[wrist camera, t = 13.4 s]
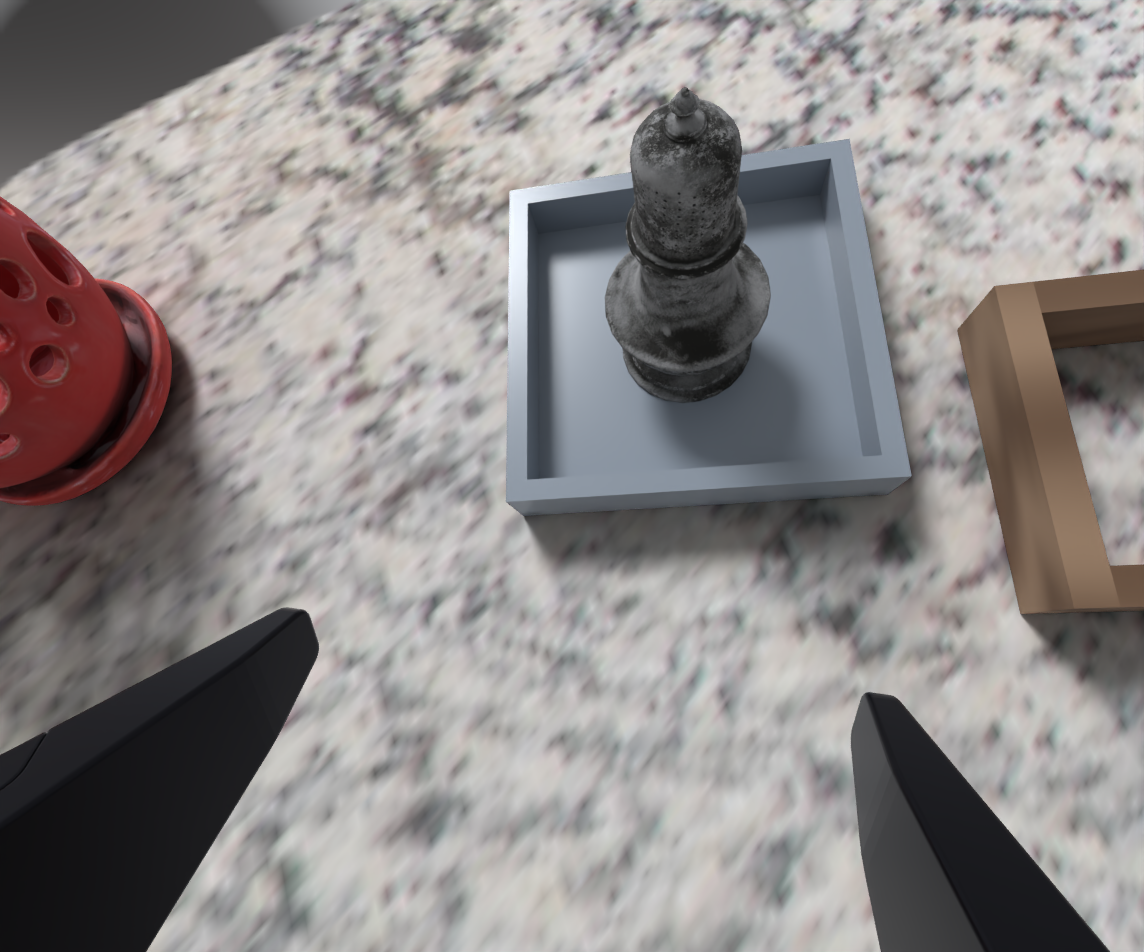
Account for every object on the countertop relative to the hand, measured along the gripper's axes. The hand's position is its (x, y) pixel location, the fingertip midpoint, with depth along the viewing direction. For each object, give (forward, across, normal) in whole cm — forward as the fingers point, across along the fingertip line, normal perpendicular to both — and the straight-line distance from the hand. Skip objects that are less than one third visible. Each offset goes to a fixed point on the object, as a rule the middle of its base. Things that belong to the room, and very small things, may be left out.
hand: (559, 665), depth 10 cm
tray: (+19, -1, 0) cm, 19 cm away
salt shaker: (+18, -1, 0) cm, 18 cm away
